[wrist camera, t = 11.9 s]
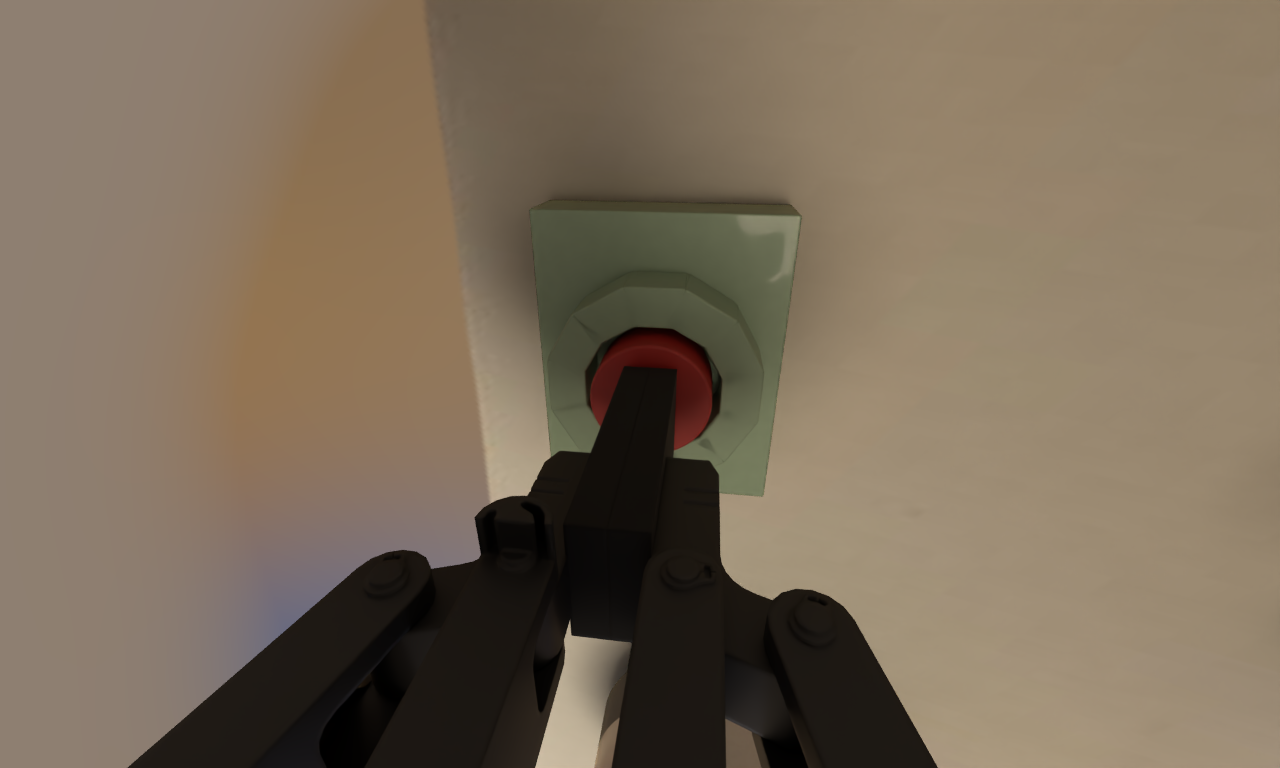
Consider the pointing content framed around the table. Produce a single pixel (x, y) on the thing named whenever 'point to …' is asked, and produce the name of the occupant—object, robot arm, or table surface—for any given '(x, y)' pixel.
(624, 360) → the button
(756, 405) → the button base
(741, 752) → the planter
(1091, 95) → the table surface
